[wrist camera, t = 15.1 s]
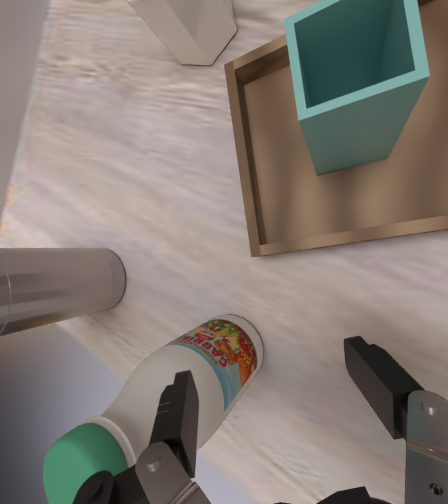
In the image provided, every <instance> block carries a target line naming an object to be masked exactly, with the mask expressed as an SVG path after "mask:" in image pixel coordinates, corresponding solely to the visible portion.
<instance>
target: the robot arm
mask: <svg viewBox="0 0 448 504" xmlns="http://www.w3.org/2000/svg"><path fill="white" fill-rule="evenodd" d="M124 289H125V272H124V268H123V265H122V263H121V261H120V259H119V258H118V257H117V255H116V254H115V253H113V252H112V251H110V250H108V249H99V248H0V336H4V335H8V334H11V333H16V332H20V331H23V330H27V329H31V328H35V327H39V326H43V325H47V324H51V323H55V322H59V321H63V320H67V319H71V318H75V317H79V316H82V315H87V314H91V313H95V312H98V311H102V310H106V309H110V308H112V307H114V306H115V305H116V304H117V303H118V302H119V301H120V299H121V298H122V296H123V293H124ZM344 352H345V363H346V367H347V370H348V373H349V375H350V376H351V378H352V379H353V381H354V382H355V384H356V385H357V387H358V388H359V390H360V391H361V392H362V394H363V395H364V397H365V398H366V400H367V401H368V403H369V404H370V406H371V407H372V408H373V410H374V411H375V413H376V414H377V416H378V417H379V419H380V420H381V422H382V423H383V424H384V426H385V427H386V429H387V430H388V432H389V433H390V435H391V436H392V437H393V439H394V440H395V439H400V438H404V439H405V441H406V471H405V504H448V401H447V400H446V399H445V398H443V397H441V396H440V395H438V394H436V393H433V392H430V391H425V390H424V389H423V388H422V387H421V386H420V385H419V384H418V383H417V382H416V381H415V380H414V379H413V378H412V377H411V376H410V375H409V374H408V373H407V372H406V371H405V370H404V369H403V368H402V367H401V366H399V364H398V363H397V362H396V361H395V360H394V359H393V358H392V357H391V356H390V355H389V354H388V353H387V352H386V351H385V350H384V349H382V348H380V347H379V346H377V345H375V344H371V345H368V344H367V343H366V342H365V340H364V339H363V338H362V337H361V336H355V337H351V338H346V339H344ZM198 417H199V397H198V392H197V389H196V386H195V382H194V379H193V376H192V372H191V370H187V371H182V372H177V373H176V374H175V378H174V383H173V384H172V385H167V386H166V388H165V389H164V391H163V392H162V394H161V396H160V400H159V406H158V409H157V414H156V417H155V421H154V425H153V429H152V433H151V437H150V441H149V445H148V447H147V448H145V449H144V450H143V452H142V453H141V454H140V456H139V457H138V459H137V462H136V464H134V465H133V466H131V467H130V468H128V469H126V470H124V471H123V472H121V473H119V474H117V475H115V476H113V475H112V473H111V472H110V471H107V470H102V471H99V472H96V473H94V474H93V475H91V476H90V477H89V478H88V479H87V480H86V481H85V482H84V483H83V484H82V485H81V487H80V488H79V490H78V491H77V493H76V496H75V498H74V501H73V503H72V504H211V503H210V501H209V500H208V498H207V497H206V496H205V494H204V493H203V491H202V490H201V488H200V487H199V485H198V484H197V483H196V482H194V483H193V482H192V481H191V479H190V478H194V477H195V465H196V449H197V433H198ZM275 504H289V503H281V502H280V503H275ZM317 504H391V503H389V502H386V501H384V500H380V499H377V498H372V497H370V496H369V494H368V492H367V490H366V488H365V486H363V487H358V488H353V489H348V490H343V491H337V492H336V493H334V494H332V495H330V496H329V497H327V498H325V499H324V500H322V501H320V502H318V503H317Z"/></svg>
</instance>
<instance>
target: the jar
mask: <svg viewBox="0 0 448 504" xmlns="http://www.w3.org/2000/svg"><path fill="white" fill-rule="evenodd" d="M127 2H128V3H129V4H130V5H131V7H132V8H133V9H134V10H135V11H136V12H137V14H138V15H139V16H140V17H141V18H142V19H143V20H144V22H145V23H146V24H147V25H148V26H149V27H150V29H151V30H152V31H153V32H154V33H155V34H156V35H157V37H158V38H159V39H160V40H161V41H162V42H163V44H164V45H165V46H166V47H167V48H168V49H169V50H170V52H171V53H172V54H173V55H174V56H175V57H176V58H177V60H178V61H179V62H180V63H181V64H190V65H212V64H213V62H214V61H215V60H216V58H217V57H218V56H219V54H220V53H221V52H222V50H223V49H224V48H225V46H226V45H227V44H228V42H229V41H230V40H231V38H232V37H233V36H234V34H235V33H236V31H237V27H236V22H235V17H234V12H233V7H232V2H231V0H127Z"/></svg>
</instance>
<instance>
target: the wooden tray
mask: <svg viewBox="0 0 448 504" xmlns="http://www.w3.org/2000/svg"><path fill="white" fill-rule="evenodd" d="M417 3H418V8H419V14H420V20H421V26H422V32H423V38H424V43H425V49H426V55H427V61H428V67H429V73H430V77H429V79H428V81H427V83H426V85H425V87H424V89H423V91H422V93H421V95H420V97H419V99H418V101H417V103H416V105H415V107H414V108H413V110H412V112H411V114H410V116H409V118H408V120H407V122H406V124H405V126H404V128H403V130H402V132H401V134H400V136H399V138H398V140H397V142H396V144H395V146H394V148H393V150H392V152H391V154H390V156H389V158H388V159H384V160H380V161H376V162H372V163H368V164H364V165H360V166H356V167H352V168H348V169H344V170H340V171H336V172H331V173H327V174H323V175H319V176H317V174H316V171H315V168H314V165H313V162H312V159H311V156H310V153H309V151H308V148H307V145H306V142H305V139H304V136H303V133H302V130H301V127H300V124H299V121H298V114H297V108H296V101H295V94H294V87H293V80H292V73H291V66H290V59H289V52H288V46H287V39H286V34H285V35H283V36H281V37H279V38H277V39H275V40H273V41H271V42H269V43H267V44H265V45H263V46H261V47H259V48H257V49H255V50H253V51H251V52H249V53H247V54H245V55H243V56H241V57H239V58H237V59H235V60H233V61H231V62H229V63H227V64H225V65H224V67H225V74H226V81H227V88H228V95H229V102H230V109H231V116H232V123H233V130H234V137H235V144H236V151H237V158H238V165H239V172H240V179H241V186H242V193H243V200H244V207H245V215H246V222H247V229H248V236H249V243H250V250H251V257H256V256H265V255H272V254H279V253H286V252H293V251H300V250H307V249H314V248H321V247H328V246H335V245H342V244H349V243H355V242H362V241H369V240H376V239H383V238H390V237H397V236H404V235H411V234H418V233H425V232H432V231H439V230H446V229H448V0H417Z"/></svg>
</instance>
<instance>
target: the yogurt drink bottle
mask: <svg viewBox="0 0 448 504" xmlns="http://www.w3.org/2000/svg"><path fill="white" fill-rule="evenodd" d="M262 360H263V346H262V342H261V339H260V337H259V335H258V333H257V331H256V330H255V329H254V327H253V326H252V325H251V324H250V323H248V322H247V321H246V320H244V319H242V318H241V317H238V316H235V315H221V316H218V317H216V318H214V319H212V320H210V321H208V322H206V323H204V324H203V325H201V326H199V327H197V328H195V329H193V330H192V331H190V332H188V333H186V334H184V335H182V336H181V337H179V338H177V339H175V340H174V341H172V342H170V343H168V344H167V345H165V346H163V347H162V348H160V349H159V350H157V351H155V352H154V353H153V354H151V355H150V356H149V357H148V358H146V359H145V360H144V361H143V362H142V363H141V364H140V365H139V366H138V367H137V368H136V369H135V371H134V372H133V373H132V374H131V376H130V377H129V379H128V380H127V382H126V384H125V385H124V387H123V389H122V390H121V392H120V394H119V395H118V397H117V398H116V399H115V401H114V402H113V403H112V404H111V406H110V407H109V408H108V409H107V410H106V411H105V412H104V413H103V414H102V415H101V416H94V417H91V418H89V419H87V420H86V421H85V422H84V423H83V424H82V425H79V426H77V427H76V428H74V429H72V430H71V431H69V432H68V433H66V434H65V435H63V436H62V437H61V438H59V439H58V440H57V441H56V442H55V443H54V444H53V445H52V446H51V447H50V449H49V450H48V452H47V454H46V458H45V462H44V468H43V480H44V488H45V492H46V496H47V500H48V502H49V504H72V503H73V501H74V498H75V496H76V493H77V491H78V490H79V488H80V487H81V485H82V484H83V483H84V482H85V481H86V480H87V479H88V478H89V477H90V476H91V475H93V474H94V473H96V472H99V471H102V470H107V471H110V472H111V473H112V475H113V476H115V475H117V474H119V473H121V472H123V471H124V470H126V469H128V468H130V467H131V466H133V465H134V464H136V462H137V459H138V457H139V456H140V454H141V453H142V452H143V450H144V449H145V448H147V447H148V445H149V441H150V437H151V433H152V429H153V425H154V421H155V417H156V414H157V409H158V406H159V400H160V396H161V394H162V392H163V391H164V389H165V388H166V386H167V385H172V384H173V383H174V378H175V374H176V373H177V372H182V371H187V370H191V372H192V376H193V379H194V382H195V386H196V389H197V392H198V397H199V417H198V433H197V449H196V451H197V450H198V449H199V448H201V447H202V446H203V445H204V444H205V443H206V442H207V441H208V440H209V439H210V438H211V436H212V435H213V434H214V433H215V431H216V430H217V429H218V428H219V426H220V425H221V424H222V422H223V421H224V420H225V418H226V417H227V415H228V414H229V413H230V411H231V410H232V408H233V407H234V406H235V404H236V403H237V401H238V400H239V398H240V397H241V396H242V394H243V393H244V391H245V390H246V388H247V387H248V385H249V384H250V382H251V381H252V379H253V378H254V376H255V375H256V374H257V372H258V370H259V368H260V366H261V364H262Z"/></svg>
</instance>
